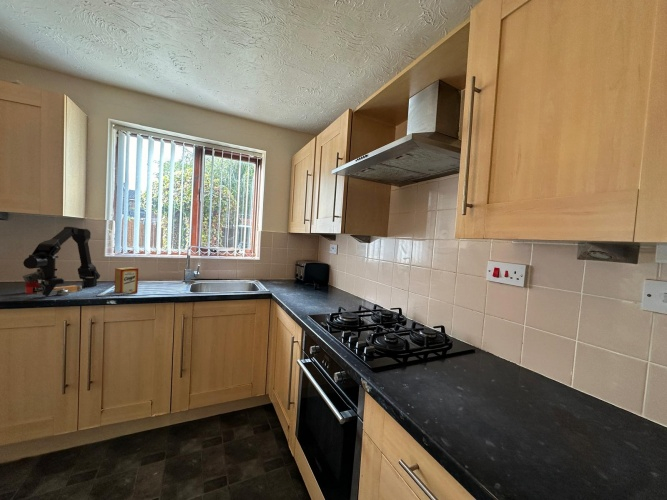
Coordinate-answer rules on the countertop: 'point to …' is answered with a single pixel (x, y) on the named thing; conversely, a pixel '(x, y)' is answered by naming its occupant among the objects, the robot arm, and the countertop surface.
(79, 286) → the tool board
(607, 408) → the countertop surface
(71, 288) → the orange rectangular bar
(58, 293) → the crank handle
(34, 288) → the canned food
